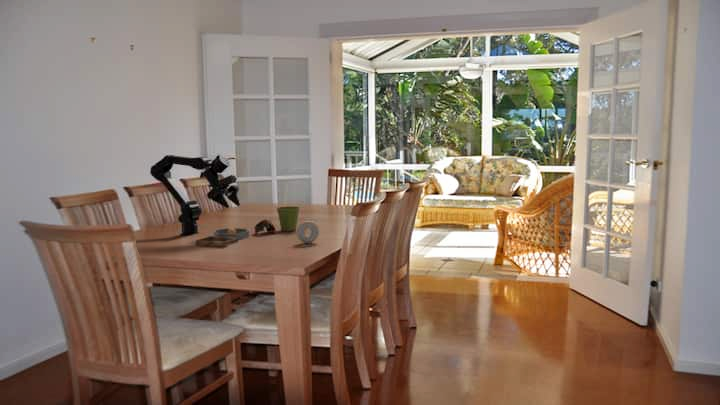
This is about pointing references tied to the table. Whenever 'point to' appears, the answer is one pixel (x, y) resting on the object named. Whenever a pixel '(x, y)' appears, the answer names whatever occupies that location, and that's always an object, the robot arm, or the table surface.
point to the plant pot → (288, 217)
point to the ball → (231, 231)
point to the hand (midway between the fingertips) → (233, 206)
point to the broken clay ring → (266, 224)
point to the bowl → (239, 233)
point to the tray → (216, 241)
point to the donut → (303, 227)
